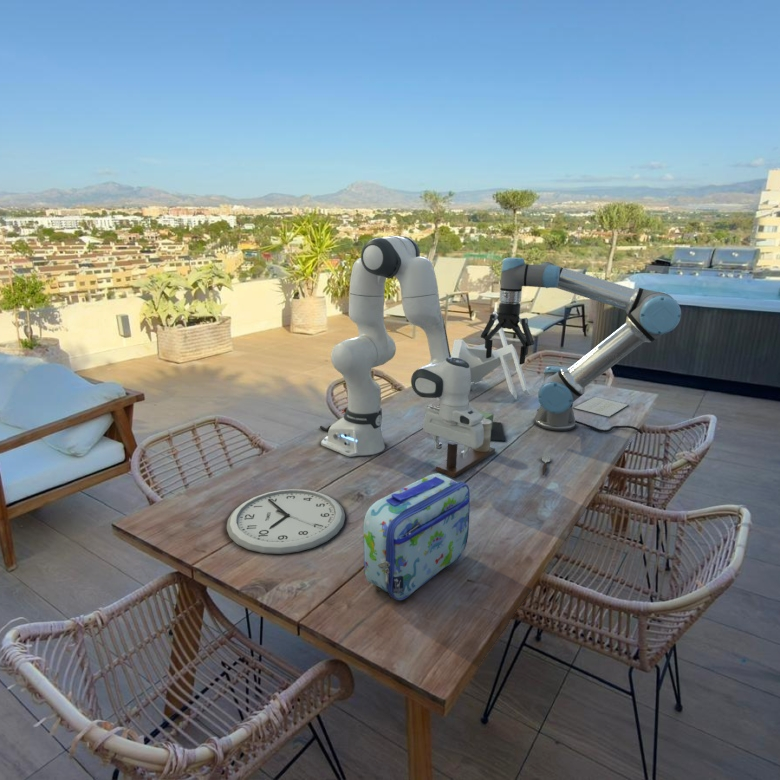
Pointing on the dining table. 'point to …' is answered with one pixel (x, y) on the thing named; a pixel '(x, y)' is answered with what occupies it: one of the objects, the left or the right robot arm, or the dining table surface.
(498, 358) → the white plastic object
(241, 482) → the dining table surface
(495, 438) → the slate mat
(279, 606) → the dining table surface
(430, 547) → the lunch box
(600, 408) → the invitation card
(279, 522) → the wall clock
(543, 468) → the fork
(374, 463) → the dining table surface
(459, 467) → the caddy
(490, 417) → the sage green cube
